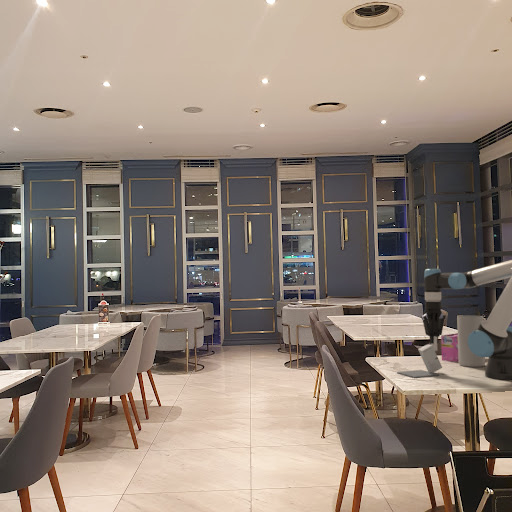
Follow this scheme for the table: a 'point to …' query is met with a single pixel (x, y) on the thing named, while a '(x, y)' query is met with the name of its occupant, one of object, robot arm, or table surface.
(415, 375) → the mat
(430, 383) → the table surface
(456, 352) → the gum box
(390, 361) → the table surface
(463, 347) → the cylinder vase
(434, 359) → the skincare box
